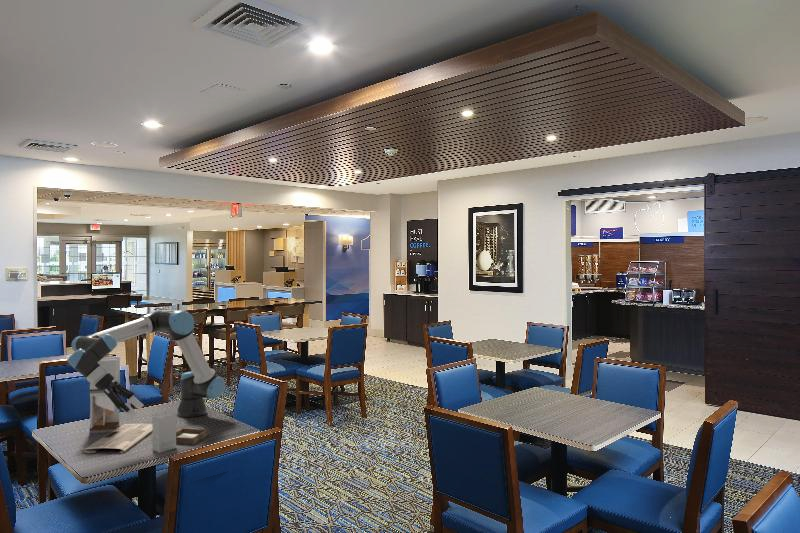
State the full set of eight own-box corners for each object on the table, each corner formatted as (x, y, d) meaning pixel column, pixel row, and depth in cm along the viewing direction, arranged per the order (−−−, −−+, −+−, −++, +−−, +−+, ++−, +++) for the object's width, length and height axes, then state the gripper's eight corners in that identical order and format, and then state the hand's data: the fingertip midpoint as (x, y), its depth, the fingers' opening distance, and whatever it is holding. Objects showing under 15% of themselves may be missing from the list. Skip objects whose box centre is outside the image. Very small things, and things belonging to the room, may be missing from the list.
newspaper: (121, 429, 278) (122, 423, 278) (161, 429, 279) (161, 423, 279) (82, 454, 241) (82, 447, 241) (128, 454, 242) (128, 447, 242)
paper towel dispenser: (89, 433, 269) (90, 360, 268) (94, 427, 279) (94, 357, 278) (115, 431, 272) (116, 359, 272) (119, 425, 282) (119, 356, 282)
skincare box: (169, 445, 252) (169, 410, 252) (177, 448, 248) (177, 413, 248) (151, 449, 246) (151, 414, 246) (158, 453, 242) (159, 417, 242)
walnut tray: (182, 433, 269) (182, 427, 269) (208, 435, 267) (208, 429, 267) (165, 442, 256) (165, 436, 256) (192, 444, 254) (192, 438, 254)
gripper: (102, 379, 252) (137, 410, 256) (85, 391, 228) (124, 425, 232) (115, 366, 253) (150, 398, 257) (99, 377, 229) (138, 412, 233)
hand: (138, 411), depth 244 cm, fingers open, 13 cm apart
